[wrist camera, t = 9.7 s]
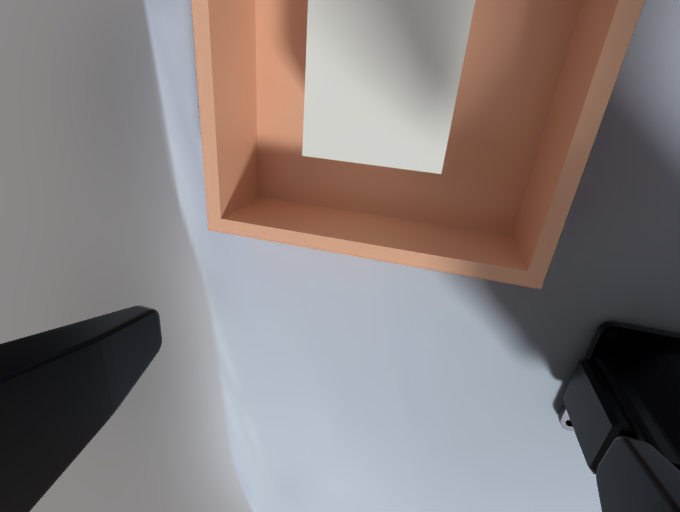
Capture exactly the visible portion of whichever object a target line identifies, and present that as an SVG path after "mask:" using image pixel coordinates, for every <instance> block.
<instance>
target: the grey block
mask: <svg viewBox="0 0 680 512" xmlns="http://www.w3.org/2000/svg"><path fill="white" fill-rule="evenodd" d="M475 1H476V0H308V15H307V42H306V68H305V95H304V122H303V149H302V156H308V157H315V158H323V159H330V160H338V161H346V162H353V163H361V164H368V165H376V166H384V167H391V168H399V169H406V170H414V171H422V172H429V173H437V174H441V173H442V168H443V163H444V158H445V152H446V147H447V142H448V137H449V132H450V127H451V122H452V117H453V112H454V107H455V102H456V97H457V92H458V87H459V82H460V77H461V72H462V66H463V61H464V56H465V51H466V46H467V41H468V36H469V31H470V26H471V21H472V16H473V11H474V6H475Z"/></svg>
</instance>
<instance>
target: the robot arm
mask: <svg viewBox="0 0 680 512" xmlns="http://www.w3.org/2000/svg"><path fill="white" fill-rule="evenodd" d="M611 331H616V333H615V334H613V335H607V334H608V333H609V332H611ZM161 344H162V336H161V326H160V318H159V313H158V312H157V311H156V310H155V309H152V308H148V307H145V306H134V307H131V308H127V309H123V310H120V311H116V312H112V313H109V314H106V315H102V316H98V317H95V318H91V319H88V320H84V321H80V322H77V323H74V324H70V325H66V326H63V327H59V328H56V329H52V330H48V331H45V332H41V333H38V334H35V335H31V336H27V337H24V338H20V339H17V340H13V341H9V342H6V343H3V344H0V512H29V511H30V510H31V509H32V508H33V507H34V506H35V505H36V503H37V502H38V501H39V500H40V498H42V497H43V495H44V494H45V493H46V492H47V491H48V489H49V488H50V487H51V486H52V485H53V484H54V483H55V481H56V480H57V479H58V478H59V477H60V476H61V474H62V473H63V472H64V471H65V470H66V469H67V467H68V466H69V465H70V464H71V463H72V462H73V460H74V459H75V458H76V457H77V456H78V455H79V454H80V452H81V451H82V450H83V449H84V448H85V447H86V445H87V444H88V443H89V442H90V441H91V440H92V438H93V437H94V436H95V435H96V434H97V433H98V431H99V430H100V429H101V428H102V427H103V426H104V425H105V423H106V422H107V421H108V420H109V419H110V417H111V416H112V415H113V414H114V412H115V411H116V410H117V409H118V407H119V406H120V405H121V403H122V402H123V400H124V399H125V398H126V396H127V395H128V394H129V392H130V391H131V389H132V388H133V387H134V385H135V384H136V382H137V381H138V380H139V378H140V377H141V375H142V374H143V373H144V371H145V370H146V368H147V367H148V366H149V364H150V363H151V361H152V360H153V358H154V357H155V356H156V354H157V353H158V351H159V349H160V347H161ZM562 400H563V402H564V404H563V406H562V408H561V410H560V412H559V415H558V418H559V421H560V424H561V426H562V427H563V428H565V429H567V430H571V431H575V434H576V436H577V439H578V441H579V444H580V446H581V449H582V452H583V454H584V457H585V459H586V462H587V465H588V467H589V468H590V470H591V471H592V472H593V474H596V480H597V486H598V492H599V497H600V503H601V509H602V512H680V334H679V333H673V332H668V331H663V330H657V329H652V328H647V327H641V326H636V325H631V324H625V323H620V322H614V321H609V322H605V323H603V324H601V325H600V326H599V328H598V330H597V332H596V334H595V336H594V338H593V340H592V343H591V345H590V347H589V349H588V351H587V354H586V356H585V358H584V359H582V360H581V361H579V362H578V365H577V367H576V369H575V371H574V373H573V376H572V378H571V380H570V382H569V384H568V387H567V389H566V391H565V393H564V396H563V398H562ZM569 419H570V420H569Z"/></svg>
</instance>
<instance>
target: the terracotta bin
mask: <svg viewBox="0 0 680 512" xmlns="http://www.w3.org/2000/svg"><path fill="white" fill-rule="evenodd" d="M644 2H645V0H476V1H475V6H474V11H473V16H472V21H471V26H470V31H469V36H468V41H467V46H466V51H465V56H464V61H463V66H462V72H461V77H460V82H459V87H458V92H457V97H456V102H455V107H454V112H453V117H452V122H451V127H450V132H449V137H448V142H447V147H446V152H445V158H444V163H443V168H442V173H441V174H437V173H429V172H422V171H414V170H406V169H399V168H391V167H384V166H376V165H368V164H361V163H353V162H346V161H338V160H330V159H323V158H315V157H308V156H302V149H303V122H304V95H305V68H306V42H307V15H308V0H191V3H192V17H193V30H194V44H195V57H196V70H197V84H198V97H199V111H200V124H201V138H202V151H203V165H204V178H205V191H206V205H207V218H208V230H211V231H216V232H222V233H228V234H233V235H239V236H245V237H250V238H256V239H261V240H267V241H273V242H278V243H284V244H289V245H295V246H301V247H306V248H312V249H317V250H323V251H329V252H334V253H340V254H345V255H351V256H357V257H362V258H368V259H374V260H379V261H385V262H390V263H396V264H402V265H407V266H413V267H418V268H424V269H430V270H435V271H441V272H446V273H452V274H458V275H463V276H469V277H475V278H480V279H486V280H491V281H497V282H503V283H508V284H514V285H519V286H525V287H531V288H536V289H541V288H542V285H543V282H544V280H545V277H546V274H547V271H548V268H549V266H550V263H551V260H552V257H553V255H554V252H555V249H556V246H557V243H558V241H559V238H560V235H561V232H562V230H563V227H564V224H565V221H566V218H567V216H568V213H569V210H570V207H571V205H572V202H573V199H574V196H575V193H576V191H577V188H578V185H579V182H580V180H581V177H582V174H583V171H584V168H585V166H586V163H587V160H588V157H589V155H590V152H591V149H592V146H593V143H594V141H595V138H596V135H597V132H598V130H599V127H600V124H601V121H602V118H603V116H604V113H605V110H606V107H607V105H608V102H609V99H610V96H611V93H612V91H613V88H614V85H615V82H616V80H617V77H618V74H619V71H620V68H621V66H622V63H623V60H624V57H625V55H626V52H627V49H628V46H629V43H630V41H631V38H632V35H633V32H634V30H635V27H636V24H637V21H638V18H639V16H640V13H641V10H642V7H643V5H644Z"/></svg>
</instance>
